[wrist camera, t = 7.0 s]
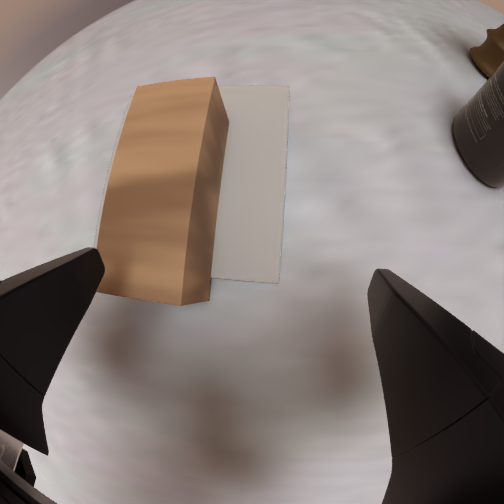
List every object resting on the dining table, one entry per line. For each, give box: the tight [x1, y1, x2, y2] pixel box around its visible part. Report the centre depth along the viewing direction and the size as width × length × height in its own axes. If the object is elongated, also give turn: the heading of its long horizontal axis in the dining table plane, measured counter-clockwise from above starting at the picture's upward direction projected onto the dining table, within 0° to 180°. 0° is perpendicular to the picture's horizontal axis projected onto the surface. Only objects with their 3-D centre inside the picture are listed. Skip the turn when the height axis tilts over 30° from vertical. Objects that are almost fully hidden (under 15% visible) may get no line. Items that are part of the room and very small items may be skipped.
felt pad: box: [94, 85, 289, 283], centre depth 16 cm, size 13×12×1 cm
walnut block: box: [96, 77, 229, 305], centre depth 14 cm, size 4×4×11 cm
